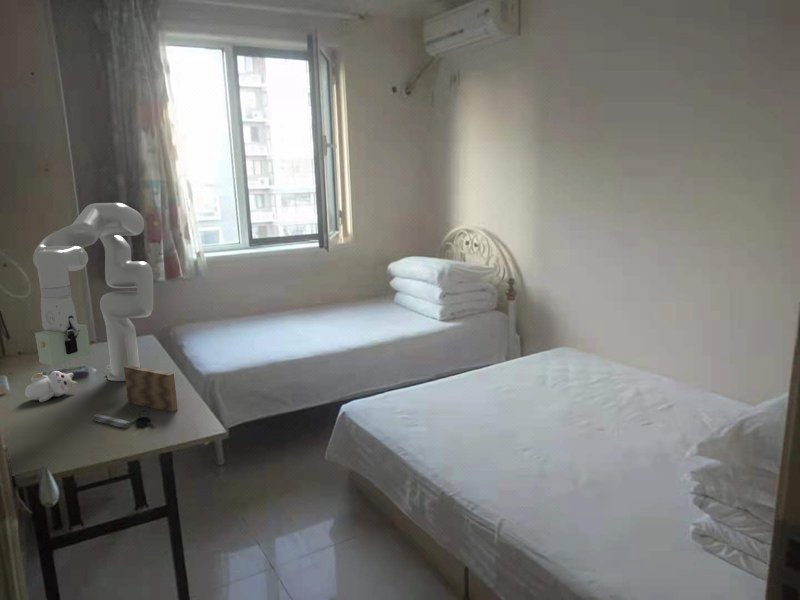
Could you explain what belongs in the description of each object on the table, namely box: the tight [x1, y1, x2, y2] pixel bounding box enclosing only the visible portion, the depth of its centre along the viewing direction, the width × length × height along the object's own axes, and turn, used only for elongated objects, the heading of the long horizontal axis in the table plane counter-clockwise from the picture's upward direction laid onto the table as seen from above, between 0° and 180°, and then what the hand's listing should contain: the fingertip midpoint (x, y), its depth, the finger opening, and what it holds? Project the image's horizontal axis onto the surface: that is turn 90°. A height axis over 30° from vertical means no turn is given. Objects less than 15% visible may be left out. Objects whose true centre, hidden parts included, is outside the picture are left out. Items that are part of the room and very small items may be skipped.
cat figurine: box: [24, 370, 78, 403], centre depth 195 cm, size 10×8×15 cm
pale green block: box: [34, 323, 92, 366], centre depth 172 cm, size 6×13×9 cm, turn 154°
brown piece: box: [92, 365, 178, 429], centre depth 178 cm, size 20×16×12 cm
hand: (64, 351), depth 173 cm, fingers closed on pale green block, 6 cm apart
